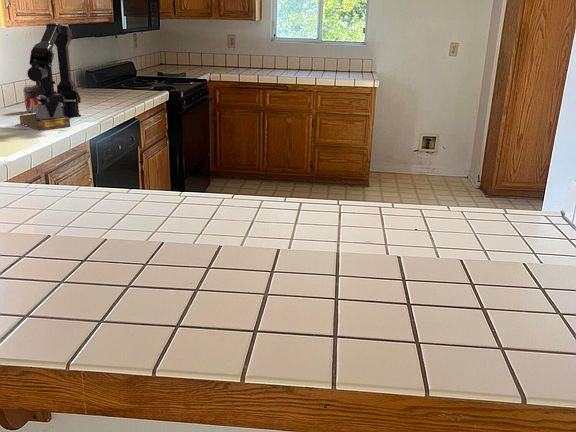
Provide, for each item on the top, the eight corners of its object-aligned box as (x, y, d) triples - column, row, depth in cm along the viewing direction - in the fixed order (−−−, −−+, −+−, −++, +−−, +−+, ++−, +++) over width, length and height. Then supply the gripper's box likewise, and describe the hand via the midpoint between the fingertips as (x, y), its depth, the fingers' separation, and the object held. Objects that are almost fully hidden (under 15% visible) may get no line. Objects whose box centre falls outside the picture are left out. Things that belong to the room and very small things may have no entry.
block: (60, 118, 241) (58, 101, 238) (63, 119, 239) (61, 102, 236) (36, 121, 234) (34, 104, 232) (39, 122, 232) (37, 105, 230)
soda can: (36, 112, 267) (33, 87, 263) (23, 112, 268) (19, 86, 264) (45, 110, 273) (42, 85, 269) (32, 109, 275) (28, 84, 270)
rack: (51, 120, 252) (50, 111, 250) (70, 126, 240) (69, 117, 238) (20, 123, 243) (19, 115, 241) (38, 130, 231) (37, 121, 229)
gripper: (16, 77, 231) (21, 115, 237) (35, 82, 219) (40, 122, 225) (42, 75, 239) (47, 112, 244) (63, 80, 227) (67, 119, 232)
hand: (50, 116), depth 236 cm, fingers closed on block, 3 cm apart
